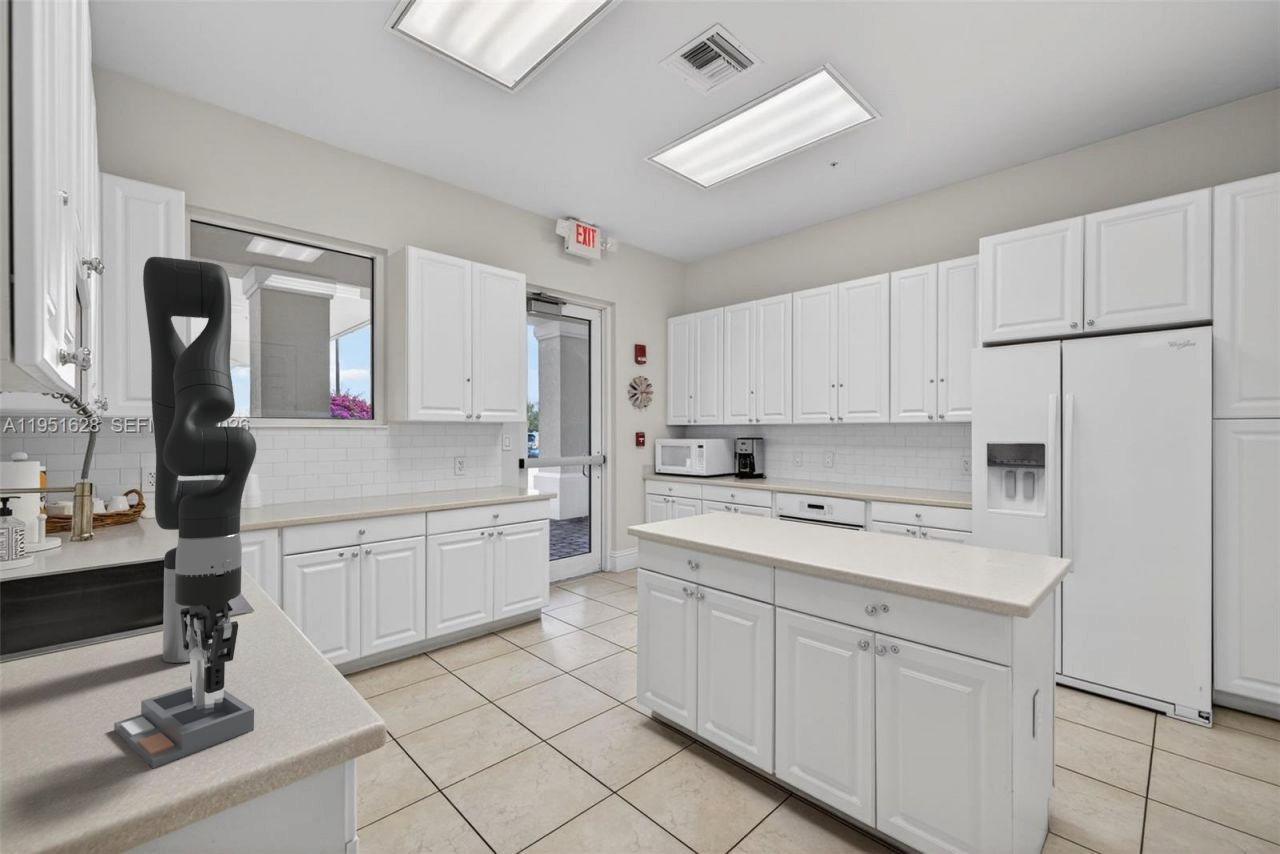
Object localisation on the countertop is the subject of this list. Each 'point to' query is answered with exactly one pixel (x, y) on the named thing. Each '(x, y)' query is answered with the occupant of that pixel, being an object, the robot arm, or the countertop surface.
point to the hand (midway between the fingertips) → (207, 685)
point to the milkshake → (200, 697)
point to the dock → (182, 726)
